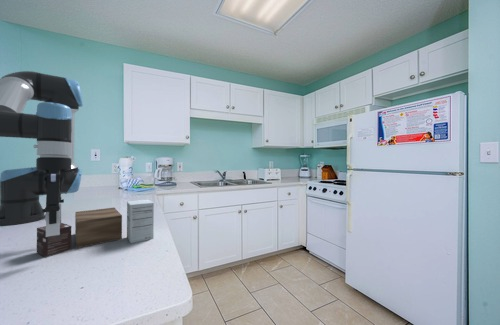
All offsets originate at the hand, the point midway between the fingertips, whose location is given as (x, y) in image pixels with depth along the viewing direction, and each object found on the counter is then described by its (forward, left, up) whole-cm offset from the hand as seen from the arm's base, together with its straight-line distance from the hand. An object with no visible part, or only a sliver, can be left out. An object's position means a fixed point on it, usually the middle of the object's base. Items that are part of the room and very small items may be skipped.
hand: (54, 229), depth 61 cm
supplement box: (+4, +22, -7) cm, 23 cm away
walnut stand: (-7, +11, -6) cm, 15 cm away
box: (0, 0, -7) cm, 7 cm away
